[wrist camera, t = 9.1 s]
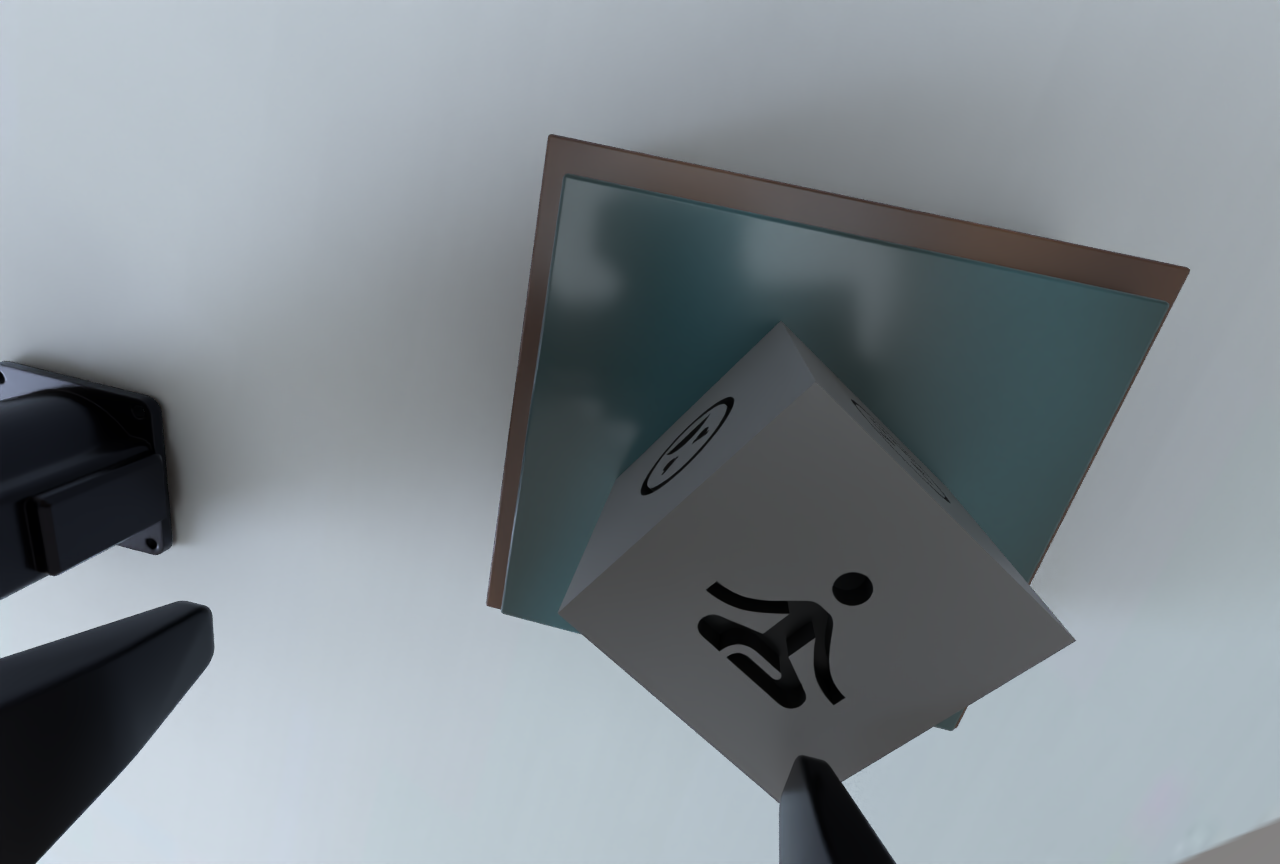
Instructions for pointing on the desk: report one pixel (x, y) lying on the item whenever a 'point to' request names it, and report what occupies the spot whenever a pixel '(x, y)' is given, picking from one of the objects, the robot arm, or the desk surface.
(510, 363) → the desk surface
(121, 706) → the robot arm
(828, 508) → the dice cube
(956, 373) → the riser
